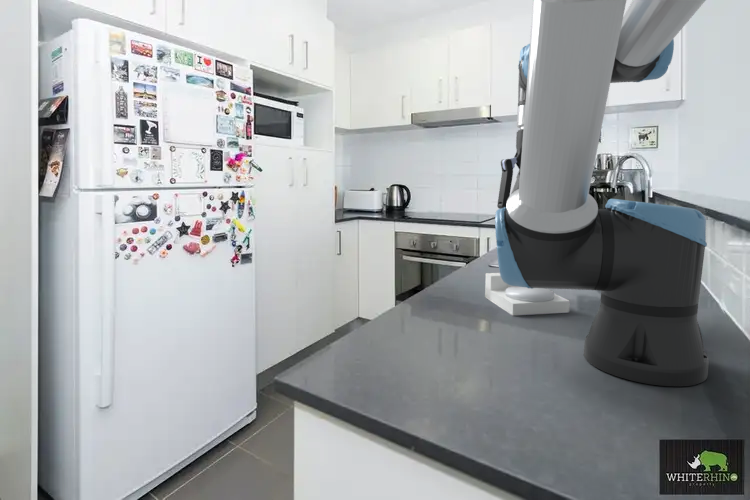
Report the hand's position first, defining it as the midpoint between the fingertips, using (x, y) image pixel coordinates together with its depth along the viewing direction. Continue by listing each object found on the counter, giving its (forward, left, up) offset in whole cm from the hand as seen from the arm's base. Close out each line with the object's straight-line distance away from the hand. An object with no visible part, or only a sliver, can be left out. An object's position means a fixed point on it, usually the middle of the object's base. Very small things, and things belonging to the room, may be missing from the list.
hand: (531, 243), depth 89 cm
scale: (+2, 0, -14) cm, 14 cm away
